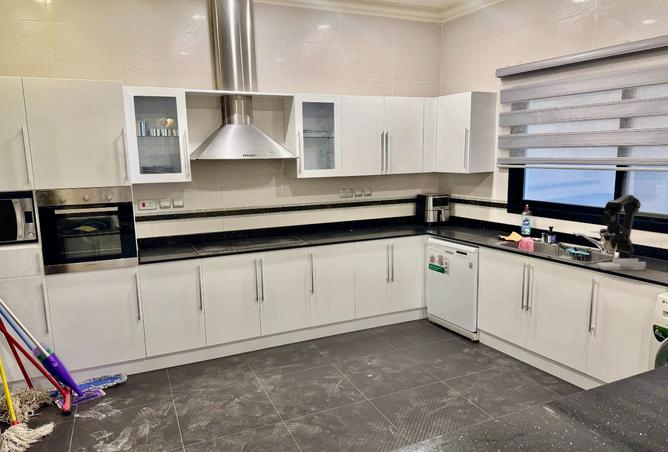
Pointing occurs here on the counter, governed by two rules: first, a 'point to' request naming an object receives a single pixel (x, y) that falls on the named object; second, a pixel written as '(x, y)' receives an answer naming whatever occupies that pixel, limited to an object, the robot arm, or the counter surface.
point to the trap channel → (623, 265)
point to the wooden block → (608, 245)
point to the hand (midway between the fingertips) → (611, 247)
